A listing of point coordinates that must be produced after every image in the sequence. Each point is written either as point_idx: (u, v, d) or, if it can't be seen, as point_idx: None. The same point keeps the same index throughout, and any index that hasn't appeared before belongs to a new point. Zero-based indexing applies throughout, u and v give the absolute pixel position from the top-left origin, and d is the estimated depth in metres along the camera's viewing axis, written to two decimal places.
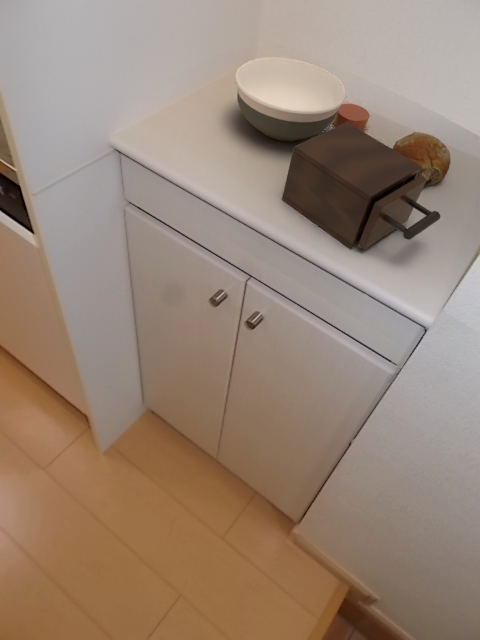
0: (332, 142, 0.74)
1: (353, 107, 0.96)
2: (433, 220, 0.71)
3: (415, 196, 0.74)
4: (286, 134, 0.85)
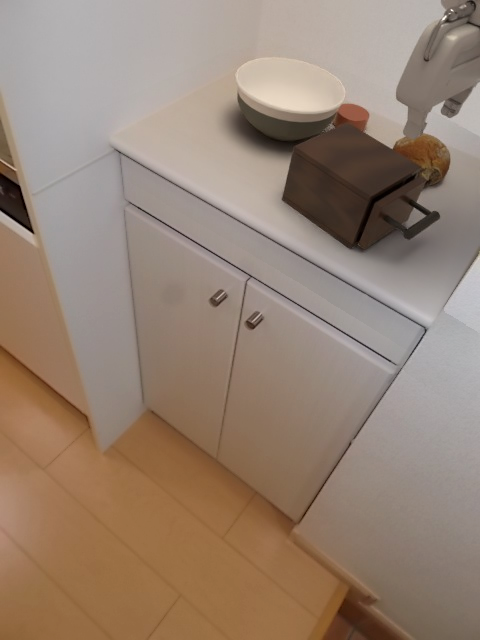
0: (332, 142, 0.74)
1: (353, 107, 0.96)
2: (433, 220, 0.71)
3: (415, 196, 0.74)
4: (286, 134, 0.85)
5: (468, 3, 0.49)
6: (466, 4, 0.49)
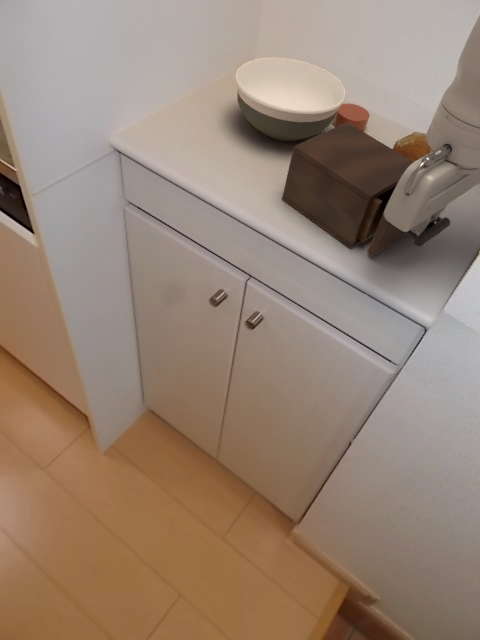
0: (332, 142, 0.74)
1: (353, 107, 0.96)
2: (443, 227, 0.70)
3: None
4: (286, 134, 0.85)
5: (444, 148, 0.57)
6: (442, 149, 0.57)
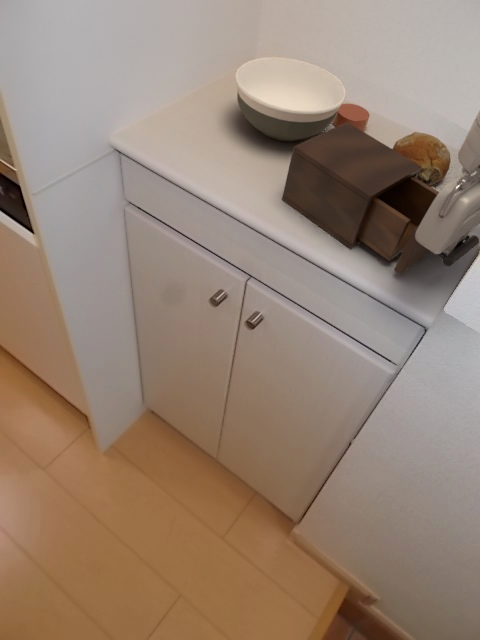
0: (332, 142, 0.74)
1: (353, 107, 0.96)
2: (472, 245, 0.68)
3: None
4: (286, 134, 0.85)
5: None
6: (478, 171, 0.55)
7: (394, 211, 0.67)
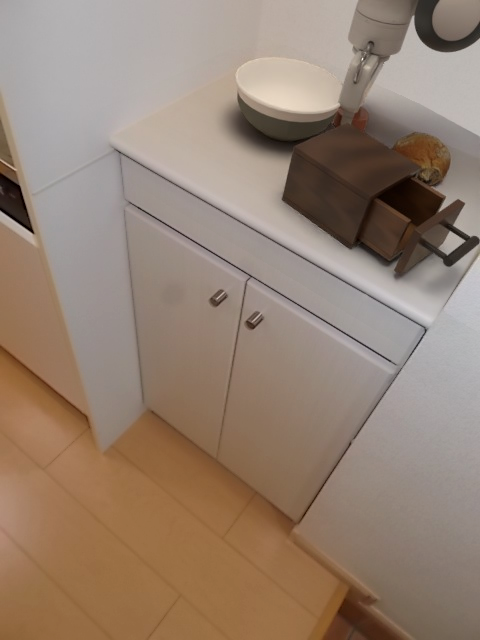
0: (332, 142, 0.74)
1: None
2: (473, 246, 0.68)
3: (453, 220, 0.71)
4: (286, 134, 0.85)
5: (370, 44, 0.81)
6: (370, 45, 0.80)
7: (394, 211, 0.67)
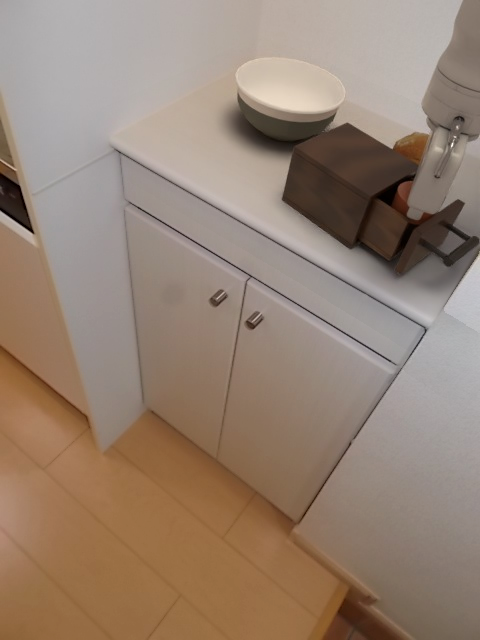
0: (332, 142, 0.74)
1: None
2: (473, 246, 0.68)
3: (452, 220, 0.71)
4: (286, 134, 0.85)
5: (460, 121, 0.55)
6: (460, 123, 0.55)
7: (394, 211, 0.67)
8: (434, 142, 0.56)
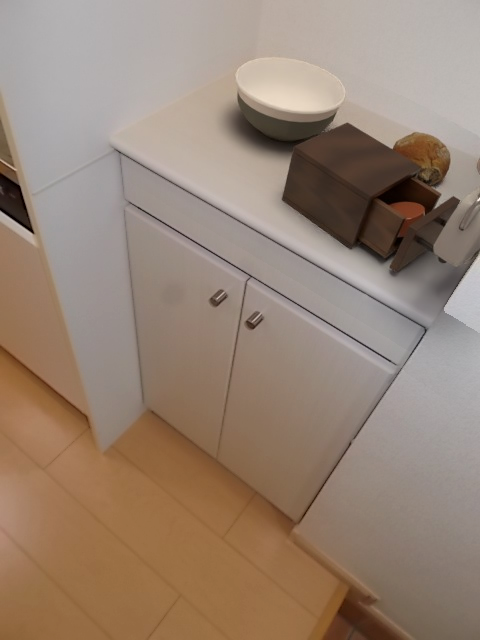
0: (332, 142, 0.74)
1: (400, 205, 0.73)
2: None
3: (448, 217, 0.72)
4: (286, 134, 0.85)
5: None
6: None
7: (390, 208, 0.68)
8: (468, 195, 0.56)
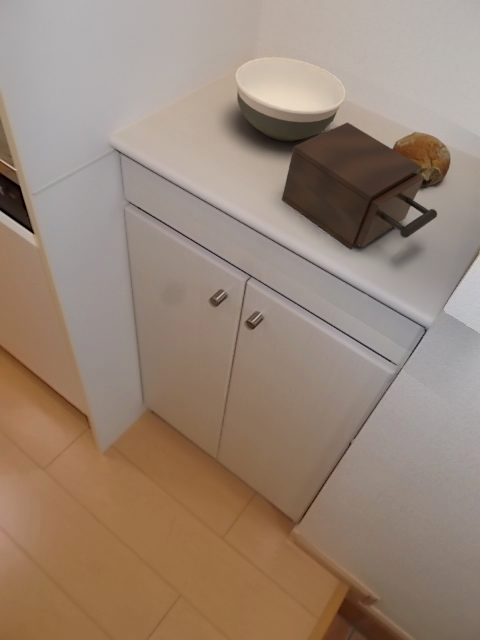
0: (332, 142, 0.74)
1: None
2: (430, 218, 0.71)
3: (412, 194, 0.74)
4: (286, 134, 0.85)
5: None
6: None
7: None
8: None
